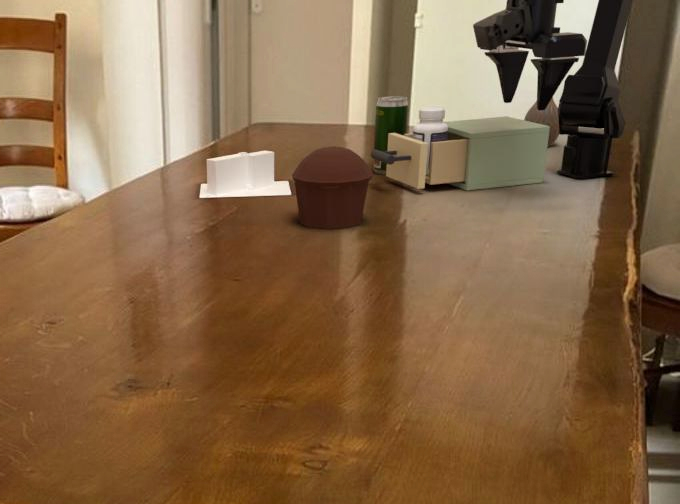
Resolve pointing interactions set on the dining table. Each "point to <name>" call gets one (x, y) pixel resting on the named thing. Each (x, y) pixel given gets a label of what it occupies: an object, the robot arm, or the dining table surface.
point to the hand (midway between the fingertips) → (523, 106)
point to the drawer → (424, 160)
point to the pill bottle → (430, 128)
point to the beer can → (388, 125)
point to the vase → (546, 119)
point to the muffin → (331, 188)
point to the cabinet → (502, 151)
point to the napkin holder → (243, 176)
